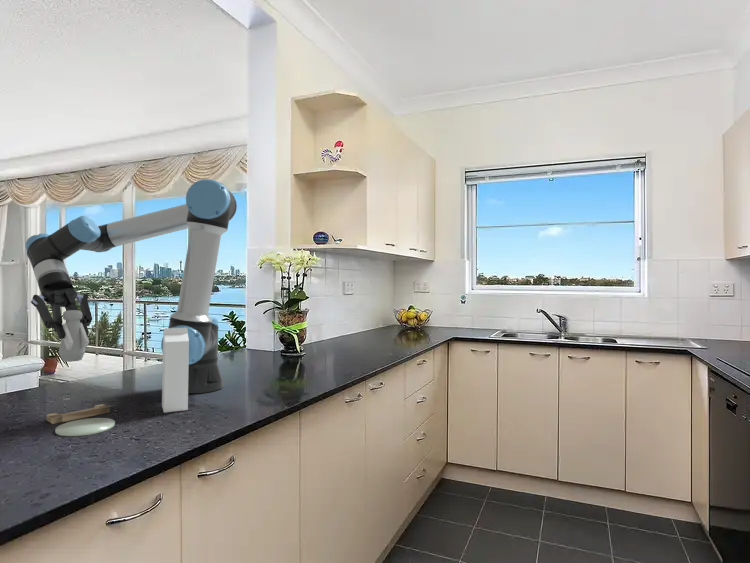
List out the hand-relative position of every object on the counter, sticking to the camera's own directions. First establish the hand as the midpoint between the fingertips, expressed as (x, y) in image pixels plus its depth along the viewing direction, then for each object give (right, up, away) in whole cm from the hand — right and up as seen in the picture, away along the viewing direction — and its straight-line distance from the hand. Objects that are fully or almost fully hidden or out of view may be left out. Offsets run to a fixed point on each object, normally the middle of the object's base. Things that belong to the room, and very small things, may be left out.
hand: (78, 345), depth 120 cm
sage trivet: (+7, -18, -9) cm, 21 cm away
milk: (+21, -18, +8) cm, 29 cm away
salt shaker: (-3, -4, +2) cm, 6 cm away
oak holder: (0, -18, 0) cm, 18 cm away
